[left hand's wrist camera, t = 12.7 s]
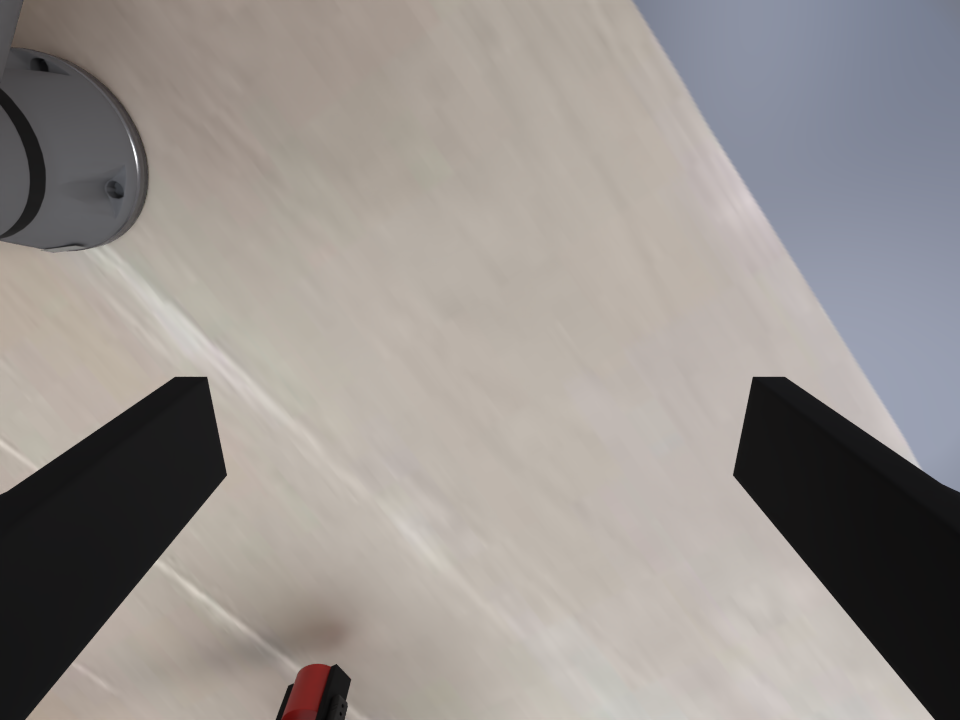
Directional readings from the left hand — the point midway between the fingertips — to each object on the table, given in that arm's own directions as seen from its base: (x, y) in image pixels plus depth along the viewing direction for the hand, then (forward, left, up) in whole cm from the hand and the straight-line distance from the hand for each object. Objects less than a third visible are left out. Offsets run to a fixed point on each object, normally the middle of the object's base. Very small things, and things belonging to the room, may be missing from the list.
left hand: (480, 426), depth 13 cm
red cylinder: (+37, -34, -29) cm, 58 cm away
